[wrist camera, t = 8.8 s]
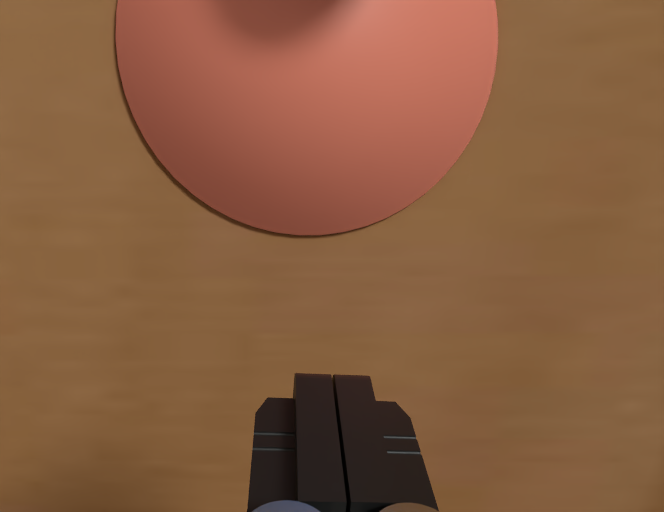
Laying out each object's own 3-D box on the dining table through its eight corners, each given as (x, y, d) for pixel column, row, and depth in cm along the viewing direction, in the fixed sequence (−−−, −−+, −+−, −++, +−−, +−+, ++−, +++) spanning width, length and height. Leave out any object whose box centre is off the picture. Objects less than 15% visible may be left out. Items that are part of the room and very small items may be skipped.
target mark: (529, -142, 21) (532, -143, 21) (463, 242, 26) (465, 244, 26) (108, -193, 20) (106, -195, 20) (123, 223, 25) (122, 225, 24)
